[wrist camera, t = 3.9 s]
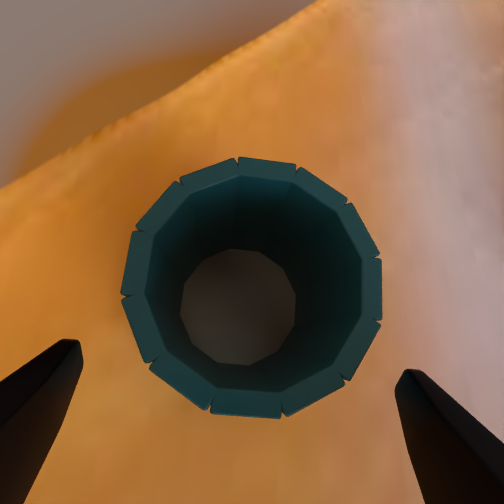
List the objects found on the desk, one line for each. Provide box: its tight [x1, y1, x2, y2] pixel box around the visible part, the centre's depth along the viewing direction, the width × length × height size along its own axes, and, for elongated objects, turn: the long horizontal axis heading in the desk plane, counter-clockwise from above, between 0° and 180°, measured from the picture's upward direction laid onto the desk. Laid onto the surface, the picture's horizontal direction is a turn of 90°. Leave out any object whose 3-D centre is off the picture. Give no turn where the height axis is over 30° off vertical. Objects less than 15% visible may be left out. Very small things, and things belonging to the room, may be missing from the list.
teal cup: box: [120, 157, 382, 419], centre depth 12 cm, size 7×7×8 cm
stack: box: [180, 249, 296, 405], centre depth 18 cm, size 10×10×3 cm
